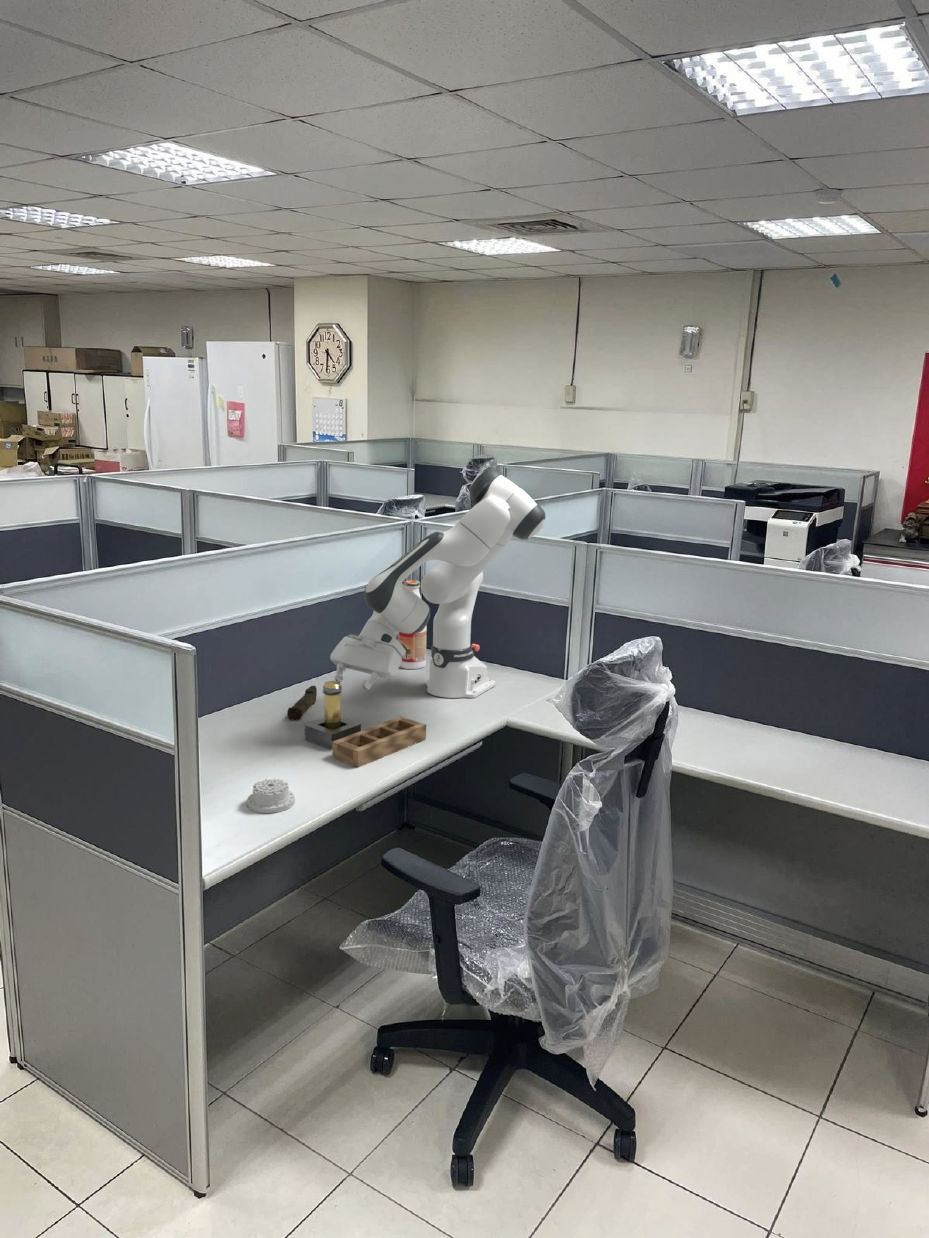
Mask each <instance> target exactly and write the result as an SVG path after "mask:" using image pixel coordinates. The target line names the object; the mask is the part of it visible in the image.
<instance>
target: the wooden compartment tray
mask: <svg viewBox="0 0 929 1238" xmlns="http://www.w3.org/2000/svg"><path fill="white" fill-rule="evenodd" d="M425 739H426V740H427V724H425V723H422V722H419V721H416V720H412V719H410V718H407V717H403V716H397V717H395V718H392V719H389V720H387V721H385V722H381V723H379V724H376V725H374V726H371V727H368V728H366V729H363V730H361V731H360V732H357V733H355V734H352V735H349V736H346V737H344V738H341V739H338V740H336V741H333V742H332V750H331V751H332V753H331V755H332V756H331V757H332V758H333V759H336V760H338V761H341V762H344V763H346V764H349V765H351V766H354V767H357V768H360V767H362V766H365V765H368V764H370V763H373V762H374V760H375V761H378V760H380V759H382V758H384V756H385V757H387V756H389V755H392V754H394V753H396V752H399V751H401V749H402V750H404V749H407V748H409V747H411V746H413V744H414V745H416V744H419V743H420V741H421V742H423V741H425ZM422 740H423V741H422ZM418 742H419V743H418ZM415 743H416V744H415ZM408 746H409V747H408ZM398 750H399V751H398ZM391 753H392V754H391ZM379 758H380V759H379ZM372 761H373V762H372ZM367 763H368V764H367Z"/></svg>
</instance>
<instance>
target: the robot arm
mask: <svg viewBox="0 0 929 1238" xmlns="http://www.w3.org/2000/svg"><path fill="white" fill-rule="evenodd" d="M469 498H470V500H471V504H470V505H472V507H471V508H470V509H469V510H468V511H466V513H465V514H464V515H463V516H462V517H461V518H460V519H459V520H458V522H457V523H456V524H455V525H453V527H450V528H449V529H447V530H445V531H443V532H441V531H434V532H431V533H430V534H428V535H427V536H426V537H424V538H423V539H422V540H420V541H419V542H417V543H416V545H414V546H413V547H411V548H410V549H409V550H408V551H406V553H404V554H403V555H402V556H401V557H400V558H399V559H397V560H396V561H395V562H394V563H392V564H391V565H390V566H389V567H387V568H386V569H384V570H383V571H381V572H380V573H378V574H377V575H375V576H374V577H373V578H372V579H370V580H369V582H368V583H367V584H366V586H365V588H364V600H365V604H366V606H367V607H368V608H370V609H371V610H373V613H372V615H371V617H370V618H368V620H367V621H366V623H365V624H364V626H363V628H362V630H361V632H360V634H359V635H355V634H351V633H350V634H349V635H346V636H344V637H342V639H341V640H340V642H339V643H337V645H336V646H335V648H334V649H333V650H332V652H331V653H330V656H329V657H330V659H329V660H330V661H331V662H332V663H333V664H334V665H335V666H336V674H335V676H334V678H333V679H334V681H338V682H340V683H342V682H343V680H344V679H345V676H344V675H343V674H344V672H345V671H346V669H348V670H352V671H357V672H362V673H364V674H369V675H371V676H369V678H368V679H364V680H363V682H362V683H361V688H362V689H365V690H368V691H369V690H370V688H371V687H372V685H373V684H375V683H376V682H378V681H379V680H380V678H384V679H388V680H389V679H392V678H393V677H395V676H396V674H397V672H398V670H399V668H400V667H399V666H400V664H401V661H402V658H401V657H403V656H404V655H405V653H406V650H405V649H404V647H403V646H402V645H401V644H400V642H399V641H398V638H397V637H398V633H399V632H403V633H405V634H415V633H419V632H421V631H422V630H423V629H424V628H425V626H426V625H428V624H429V621H430V617H431V608H430V606H429V604H427V603H426V602H425V601H424V600H423V599H422V597H421V598H420V597H418V596H417V595H416V594H414V592H413V591H412V590H411V589H410V588H408V587H406V586H405V583H404V584H403V581H404V580H405V579H407V578H408V577H409V576H410V575H411V574H413V573H414V572H415V571H416V570H418V569H419V567H421V566H422V565H423V564H425V563H426V562H428V561H431V560H433V561H434V560H435V561H436V560H437V563H436V564H435V565H434V566H433V567H432V568H431V569H430V570H429V571H428V572H426V573H425V574H424V576H423V577H422V579H421V580H420V581H421V582H420V590H421V593H422V595H423V597H424V598H425V599H426V600H427V601H428V603H432V604H435V605H439V606H438V609H437V612H436V613H435V614H434V615H435V616H434V617H433V621H432V622H433V623H432V624H433V625H432V626H433V627H432V628H433V629H432V633H433V634H432V644H431V647H430V651H431V652H430V653H431V654H430V656H431V657H432V658H431V659H430V663H429V671H428V679H427V680H426V683H425V685H426V687H427V688H426V692H427V693H429V694H430V695H431V696H432V695H433V696H435V697H441V698H449V699H451V698H452V699H455V698H456V699H458V698H472V699H474V698H477V697H479V696H480V695H482V694H483V693H486V692H487V691H488V690H490V689H491V688H493V687H495V686H496V685H497V684H496V683H497V682H496V681H495V680H494V679H492V678H489V671H488V666H487V665H486V664H485V663H484V662H482V661H481V660H479V659H478V658H477V657H476V656H475V653H474V652H479V650H480V645H479V644H476V643H472V644H471V633H472V618H473V613H474V612H473V611H474V607H475V604H476V600H477V596H478V592H479V589H480V587H481V586H482V584H483V581H484V571H485V570H486V568H488V567H489V566H490V565H491V564H492V563H493V562H494V561H495V559H496V558H497V557H498V556H499V554H500V553H501V551H502V550H503V549H504V548H505V547H506V545H508V543H509V541H510V540H511V539H512V537H515V538H517V539H519V540H521V541H522V540H529V539H530V538H532V537H534V536H535V535H537V534H538V533H539V532H540V530H541V529H542V528H543V526H544V523H545V521H546V512H545V510H544V508H543V507H542V506H541V505H540V504H537V503H536V501H535V500H534V499H533V498H532V497H531V496H530V495H529V494H528V493H527V492H526V491H525V490H524V489H523V488H521V487H519V486H518V485H517V484H515V483H514V482H513V481H511V480H510V479H508V478H507V477H506V476H504V475H503V474H502V472H500V471H499V470H496V469H494V468H487V469H485V470H483V471H482V472H480V473H479V474H478V475H477V476H475V478H474V479H473V480H472V483H471V485H470V488H469Z"/></svg>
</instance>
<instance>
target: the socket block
mask: <svg viewBox="0 0 929 1238" xmlns="http://www.w3.org/2000/svg"><path fill="white" fill-rule="evenodd" d="M360 731H362V724H361V723H358V722H356V721H353V720H349V719H347V718H344V717H343V716H341V727H340V728H337V729H334V730H330V729H327V728H325V717H324V718H321V719H318V720H315V721H312V722H310V723H309V722H308V723H307V724H304V740H305V741H306V742H307V741H308V742H310V743H311V744H315V745H318V746H320V747H323V748H326V749H329V750H331V749H332V742H333V741H336V740H338V739H341V738H344V737H346V736H349V735H352V734H355V733H357V732H360Z"/></svg>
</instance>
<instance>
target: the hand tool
mask: <svg viewBox="0 0 929 1238" xmlns="http://www.w3.org/2000/svg"><path fill="white" fill-rule="evenodd" d="M317 694H318V693H317V687H316V685H311V686H309V687H307V688H306V689H305V691H304V694H303V696H301V697H300V699H299V700H297V701H296V703H294V705H293V706H291V707H288V709H287V718H288V720H289V721H300V720H301V719H302V718H303V716H304V714H305V712H306V711H308V709H310V707H311V706H313V705H315V704H316V701H317V697H318V696H317Z"/></svg>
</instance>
